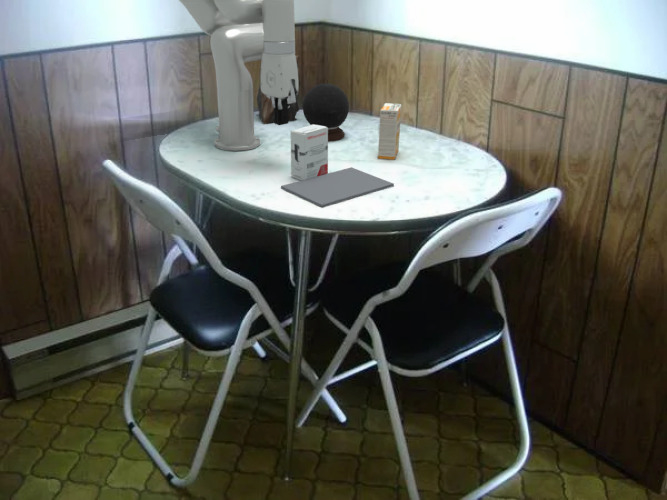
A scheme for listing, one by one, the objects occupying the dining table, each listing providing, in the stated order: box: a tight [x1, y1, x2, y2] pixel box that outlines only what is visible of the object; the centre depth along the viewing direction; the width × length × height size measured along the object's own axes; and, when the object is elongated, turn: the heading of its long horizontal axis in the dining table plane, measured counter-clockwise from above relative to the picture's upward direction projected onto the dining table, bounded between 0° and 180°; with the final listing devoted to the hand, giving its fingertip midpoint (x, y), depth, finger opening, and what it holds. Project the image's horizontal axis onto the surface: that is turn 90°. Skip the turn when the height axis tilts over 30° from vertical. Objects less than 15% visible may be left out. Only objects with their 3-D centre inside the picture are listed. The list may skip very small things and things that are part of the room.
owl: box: [256, 55, 301, 125], centre depth 214 cm, size 13×13×20 cm
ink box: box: [290, 124, 329, 181], centre depth 168 cm, size 8×5×12 cm, turn 139°
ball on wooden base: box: [302, 83, 350, 143], centre depth 198 cm, size 13×13×15 cm
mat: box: [280, 167, 395, 208], centre depth 163 cm, size 15×22×1 cm
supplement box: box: [377, 102, 402, 160], centre depth 183 cm, size 8×5×13 cm, turn 168°
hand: (281, 123), depth 173 cm, fingers closed
